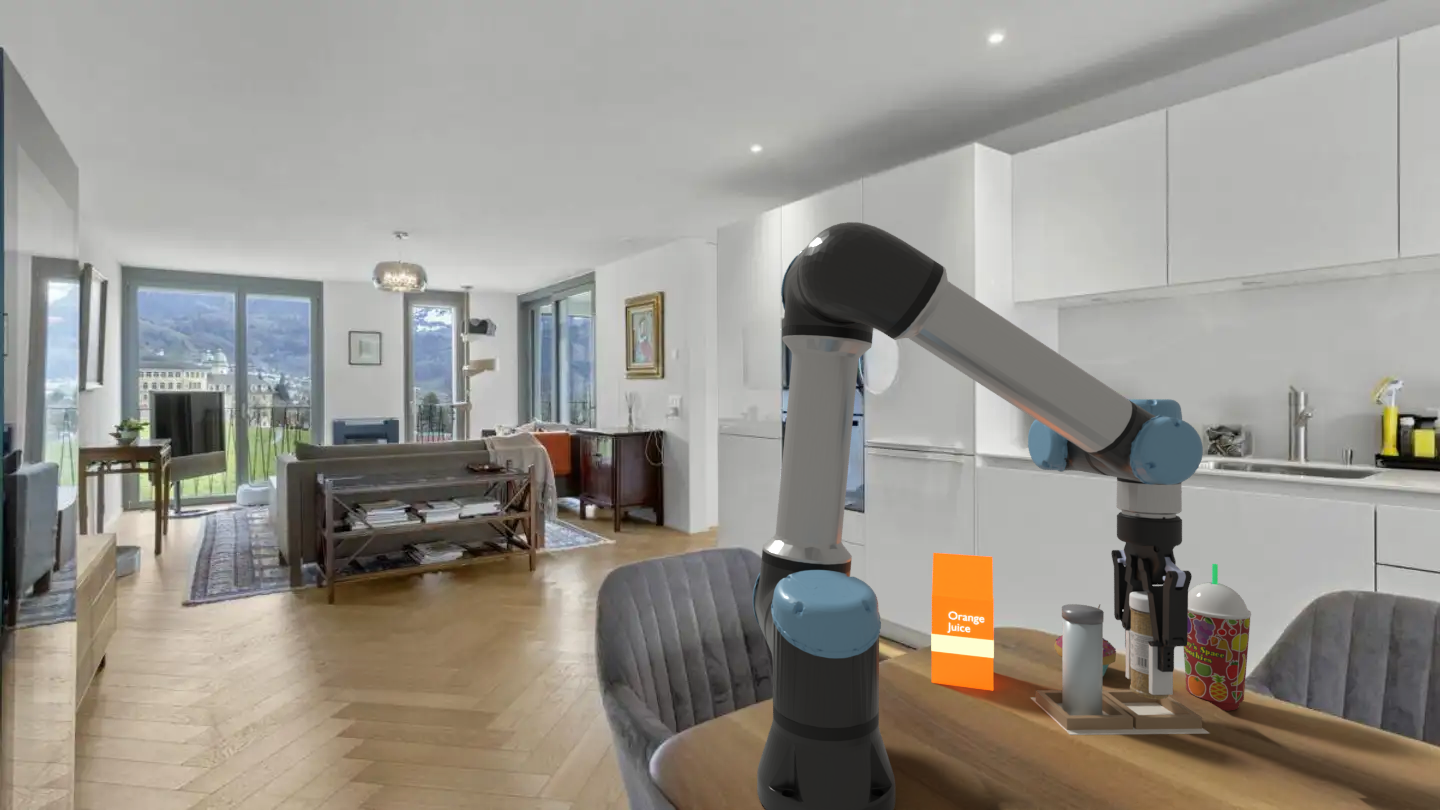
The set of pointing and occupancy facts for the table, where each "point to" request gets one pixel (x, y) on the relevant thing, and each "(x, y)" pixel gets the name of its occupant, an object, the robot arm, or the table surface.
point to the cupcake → (1108, 651)
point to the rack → (1123, 715)
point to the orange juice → (962, 621)
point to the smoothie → (1217, 644)
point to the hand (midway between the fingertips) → (1148, 685)
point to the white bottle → (1082, 659)
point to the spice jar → (1140, 644)
